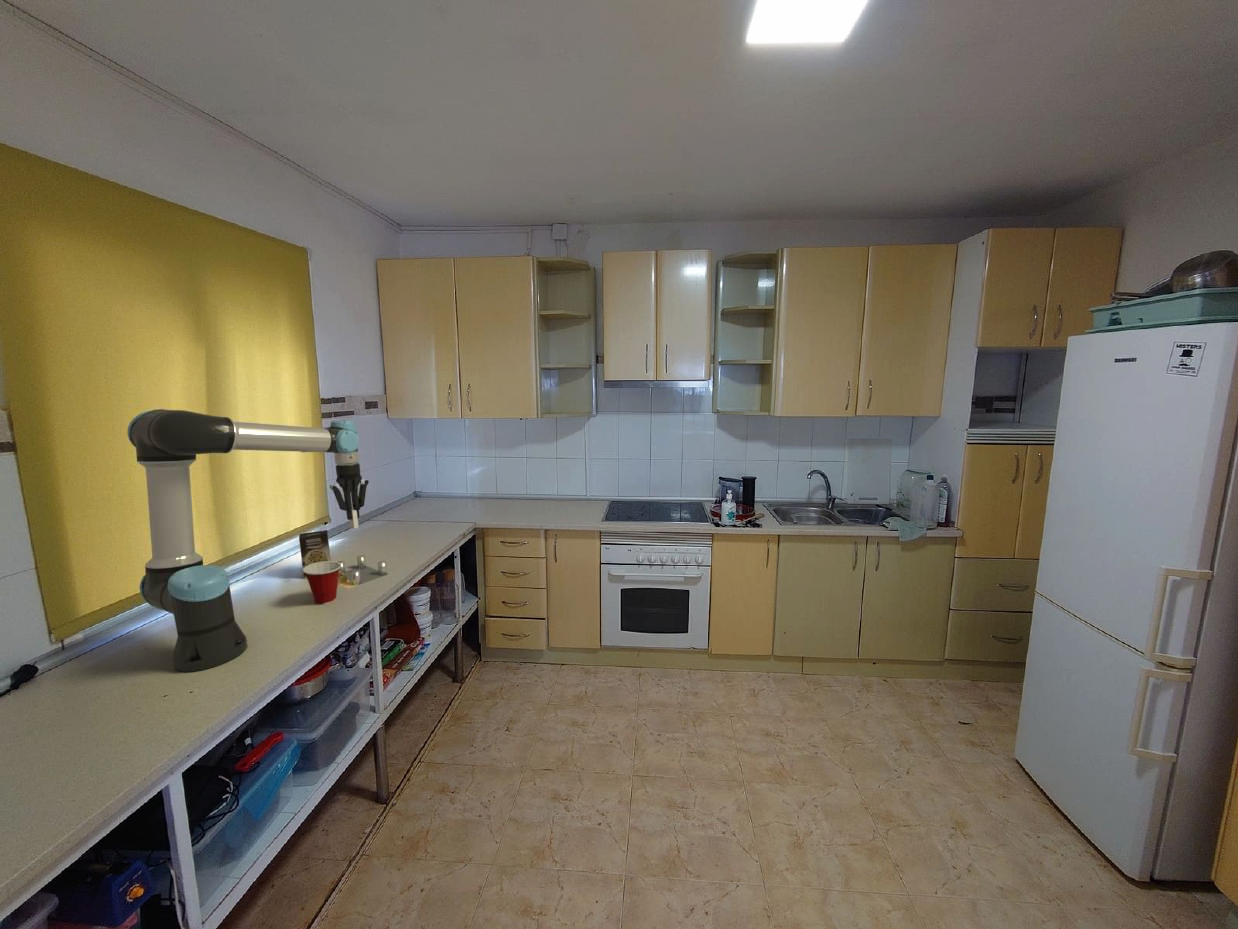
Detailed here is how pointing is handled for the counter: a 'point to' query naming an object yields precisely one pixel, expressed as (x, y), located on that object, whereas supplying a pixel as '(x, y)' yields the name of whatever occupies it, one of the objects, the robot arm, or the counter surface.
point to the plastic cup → (323, 580)
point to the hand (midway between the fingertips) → (354, 527)
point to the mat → (366, 576)
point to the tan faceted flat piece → (342, 578)
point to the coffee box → (314, 548)
